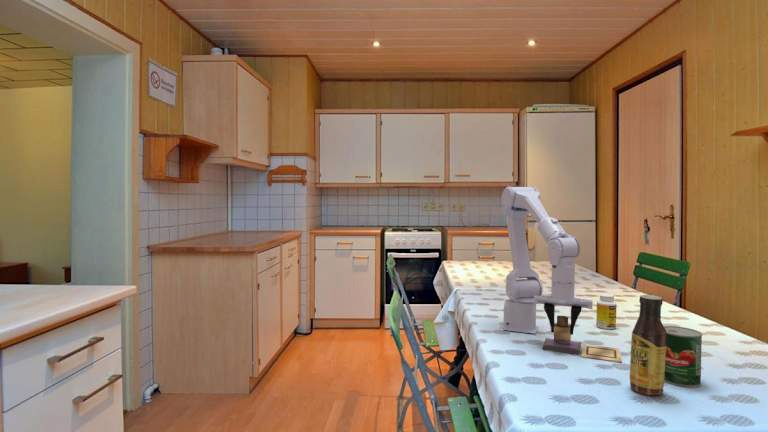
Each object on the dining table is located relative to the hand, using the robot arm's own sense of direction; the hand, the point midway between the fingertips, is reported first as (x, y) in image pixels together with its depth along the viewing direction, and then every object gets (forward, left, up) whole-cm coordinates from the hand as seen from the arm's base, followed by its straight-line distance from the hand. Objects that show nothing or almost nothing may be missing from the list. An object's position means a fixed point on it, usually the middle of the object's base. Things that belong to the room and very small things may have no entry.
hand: (562, 332), depth 121 cm
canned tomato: (+25, -12, -4) cm, 28 cm away
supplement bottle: (+11, +28, -4) cm, 30 cm away
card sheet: (+9, 0, -4) cm, 10 cm away
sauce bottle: (+18, -22, -4) cm, 29 cm away
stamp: (0, 0, -2) cm, 2 cm away
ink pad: (0, 0, -4) cm, 4 cm away
